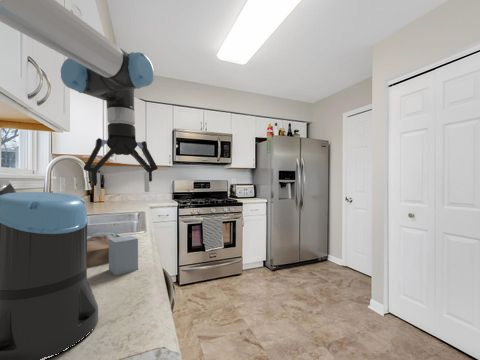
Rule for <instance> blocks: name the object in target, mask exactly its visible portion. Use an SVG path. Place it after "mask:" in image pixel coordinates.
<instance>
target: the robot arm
mask: <svg viewBox="0 0 480 360" xmlns="http://www.w3.org/2000/svg"><path fill="white" fill-rule="evenodd" d="M0 22H1V23H2V24H5V25H6V26H8V27H10V28H12V29H14V30H15V31H18V32H19V33H21V34H23V35H25V36H27V37H28V38H31V39H33V40H34V41H36V42H38V43H39V44H41V45H44V46H45V47H48V48H49V49H51V50H54V51H55V52H56V53H58V54H61V55H62V56H64V57H66V58H67V59H65V60H64V61H63V63H62V65H61V68H60V79H61V81H62V83H63V84H64V85H65V87H67V88H69V89H71V90H73V91H76V92H78V93H79V94H84V95H88V96H91V97H93V98H97V99H100V100H102V101H105V102H106V111H107V112H106V113H107V114H106V115H107V116H106V117H107V118H106V119H107V120H106V121H107V123H108V124H107V139H101V138H100V137H98V138H97V139H96V140H95V147H94V148H93V150H92V152H91V154H90V155H89V157H88V158H87V161H86V163H85V164H84V166H83V170H84V171H85V172H89V173H90V174H91V177H90V178H91V183H92V184H93V185H95V188H96V196H101V195H102V190H101V189H102V188H101V172H98V171H99V170H100V169H101V168H102V167H103V166H104V165H105V163H106V162H108V160H109V159H110V158H111V157H112V156H113V155H114V154H115V155H116V156H120V155H123V156H129V155H130V156H132V157H133V158H134V159H135V160H136V162H138V164H139V165H140V166H142V168H143V169H144V170H145V171H144V172H143V181H144V182H143V185H144V193H150V182H151V183H152V182H153V175H152V174H153V172H154V171H156V170H158V166H157V163H156V162H155V160H154V158H153V156H152V155H151V153H150V152H151V151H149V149H148V144H147V141H139V142H138V141H137V139H136V127H135V124H136V120H135V119H136V115H135V90H136V89H142V88H144V87H148V86H150V85H152V84H153V82H154V79H155V70H154V67H153V64H152V62H151V60H150V59H149V57H148V56H147V55H145V54H144V53H142V52H130V53H128V52H127V51H125V50H124V49H122V48H121V47H119V46H118V45H116V43H114V42H113V41H111V40H110V39H108V38H107V37H106V36H105V35H103V34H102V33H100V32H99V31H98V30H96V28H93V27H92V26H91V25H89V24H88V23H87V22H85V21H84V19H81V18H80V17H78V15H76V14H74V13H73V11H70V10H69V9H68V8H67V7H65V6H64V5H62V4H61V3H59V1H57V0H0ZM105 145H107V147H108V148H109V150H108V151H107V152H106V153H105V154H104V156H103V157H102V158H101V159H100V160H98V162H97V163H96V164H95V165H94V166H93V167H92V164H93V163H94V161H95V159H96V158H97V156H98V154H99V152H100V150H101V148H102V147H104V146H105ZM137 147H138V148H139V149H141V152H142V153H143V155H144V157H145V159H146V160H144V159H143V157H142V156H141V155H140V154H139V153H138V152H137V150H136V148H137ZM146 161H147V162H146ZM87 211H88V210H87V204H86V201H85V200H84V198H82V197H80V196H78V195H75V194H69V193H63V192H50V191H48V192H47V191H20V192H17V191H16V189H15V187H13V185H12V184H11V182H10V181H9V180H8V179H5V178H1V177H0V360H40V359H42V358H44V357H48V356H51V355H55V354H58V353H60V352H62V351H63V350H65V349H66V348H68V347H70V346H72V345H74V344H75V343H76V342H78V341H79V340H81V339H82V338H83V337H85V336H86V335H87V334H88V333H89V332H91V331H92V329H94V330H95V328H96V327H97V325H98V322H99V304H98V303H97V300H96V298H95V295H94V292H93V290H92V288H91V286H90V284H89V280H88V278H87V277H88V276H87V275H88V273H87V271H88V270H87V268H88V267H87V239H88V221H89V217H88V212H87ZM95 326H96V327H95ZM94 327H95V328H94ZM92 332H93V331H92ZM92 332H91V333H92ZM74 346H75V345H74ZM62 353H63V352H62ZM60 354H61V353H60ZM58 355H59V354H58Z"/></svg>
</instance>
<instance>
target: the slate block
mask: <svg viewBox="0 0 480 360" xmlns="http://www.w3.org/2000/svg"><path fill="white" fill-rule="evenodd" d="M108 271H110V273H111V274H113V275H114V276H119V275H120V276H121V275H124V274H126V273H127V274H128V273H131V272H134V271H139V238H138V237H135V236H133V235H131V234H130V235H123V236H122V237H117V238H111V239H109V262H108Z"/></svg>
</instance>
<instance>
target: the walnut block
mask: <svg viewBox="0 0 480 360" xmlns="http://www.w3.org/2000/svg"><path fill="white" fill-rule="evenodd" d="M120 236H121V235H120ZM121 237H123V236H121ZM114 238H117V237H114ZM109 239H111V238H108V239H102V240H96V241H89V242H87V268H90V267H94V266H98V265H104V264H107V263H108V264H109Z"/></svg>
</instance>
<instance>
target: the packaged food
mask: <svg viewBox="0 0 480 360" xmlns="http://www.w3.org/2000/svg"><path fill="white" fill-rule="evenodd" d="M114 237H121V235H119V234H117V233H115V232H110V231H109V232H106V231H103V232H95V233H93V234H92V235H90V236H89V237H87V242H89V241H96V240H102V239H108V238H114Z"/></svg>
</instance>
